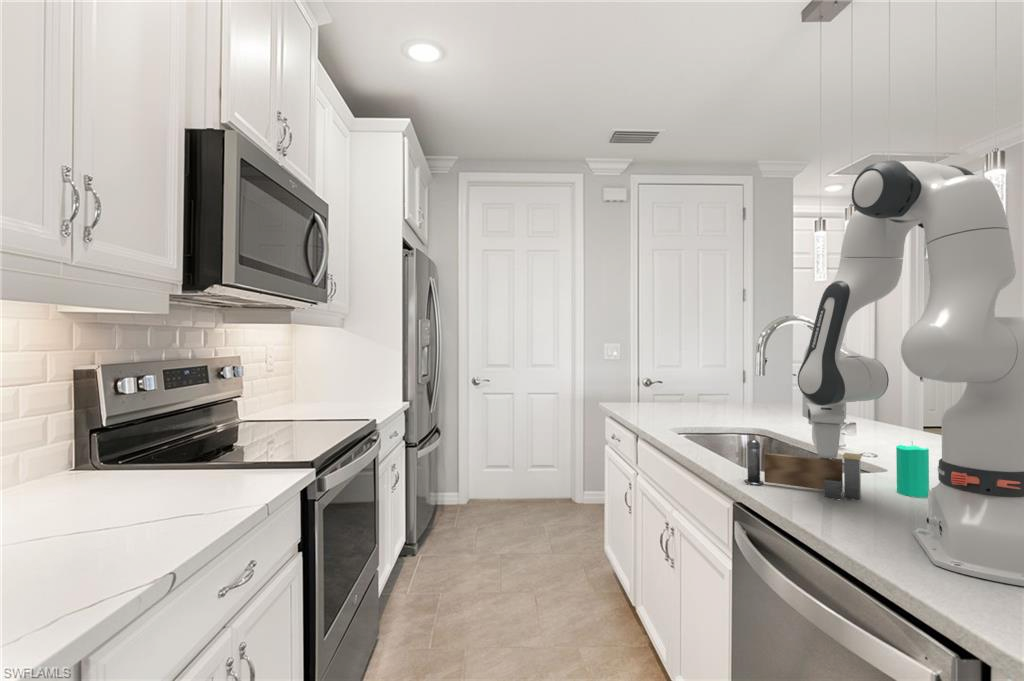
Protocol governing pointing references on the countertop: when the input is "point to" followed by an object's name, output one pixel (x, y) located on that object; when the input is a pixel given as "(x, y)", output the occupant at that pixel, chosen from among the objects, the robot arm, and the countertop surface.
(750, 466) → the hinge post
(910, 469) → the candle
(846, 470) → the latch post
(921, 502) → the countertop surface
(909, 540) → the countertop surface
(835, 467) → the gate
